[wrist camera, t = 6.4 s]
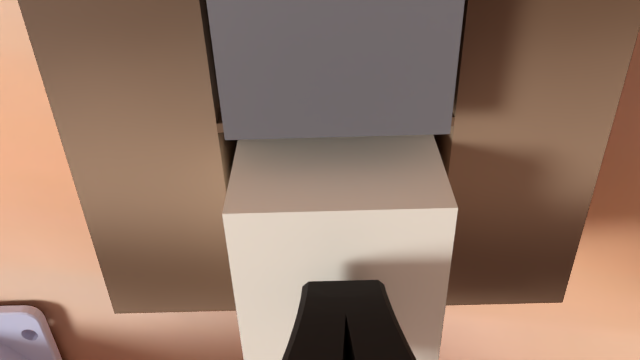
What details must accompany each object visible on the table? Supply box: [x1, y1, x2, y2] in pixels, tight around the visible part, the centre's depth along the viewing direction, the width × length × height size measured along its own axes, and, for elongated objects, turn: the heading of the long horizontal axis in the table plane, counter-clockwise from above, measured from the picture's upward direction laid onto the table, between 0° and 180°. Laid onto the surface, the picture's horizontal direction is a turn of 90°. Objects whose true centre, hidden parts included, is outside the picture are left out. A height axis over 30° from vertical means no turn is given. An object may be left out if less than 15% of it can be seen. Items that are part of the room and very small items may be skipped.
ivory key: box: [222, 135, 458, 360], centre depth 13 cm, size 4×4×3 cm
